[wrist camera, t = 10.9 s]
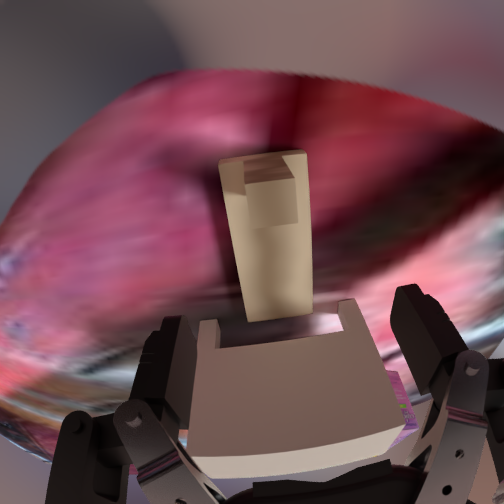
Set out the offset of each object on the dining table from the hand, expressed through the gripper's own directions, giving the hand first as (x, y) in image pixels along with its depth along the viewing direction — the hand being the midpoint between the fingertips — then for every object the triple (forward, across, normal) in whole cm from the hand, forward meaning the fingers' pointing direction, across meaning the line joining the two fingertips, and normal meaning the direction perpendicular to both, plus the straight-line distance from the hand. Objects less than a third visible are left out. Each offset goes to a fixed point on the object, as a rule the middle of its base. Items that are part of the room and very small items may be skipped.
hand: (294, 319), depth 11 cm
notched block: (+17, 0, +19) cm, 25 cm away
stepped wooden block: (+17, 0, +6) cm, 18 cm away
